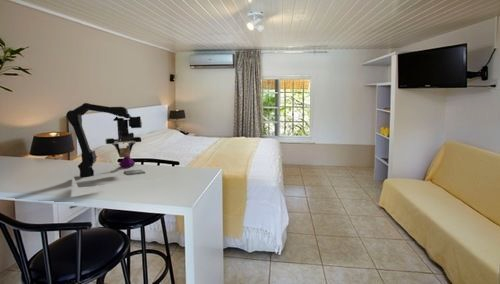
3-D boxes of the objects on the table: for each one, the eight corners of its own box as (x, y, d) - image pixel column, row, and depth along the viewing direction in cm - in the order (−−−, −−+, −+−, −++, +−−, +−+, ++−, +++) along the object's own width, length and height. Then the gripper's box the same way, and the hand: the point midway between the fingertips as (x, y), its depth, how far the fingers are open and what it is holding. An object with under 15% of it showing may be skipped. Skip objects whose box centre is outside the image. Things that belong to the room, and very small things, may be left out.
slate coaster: (127, 175, 171) (127, 173, 171) (123, 172, 180) (123, 171, 180) (145, 173, 177) (145, 171, 177) (140, 170, 185) (140, 169, 185)
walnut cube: (120, 157, 170) (120, 149, 169) (119, 156, 174) (118, 148, 174) (130, 156, 173) (129, 148, 172) (128, 155, 177) (127, 147, 176)
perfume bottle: (135, 167, 197) (134, 140, 196) (129, 169, 190) (128, 141, 188) (124, 167, 198) (123, 140, 196) (118, 169, 191) (117, 141, 189)
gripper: (107, 129, 160) (109, 158, 161) (142, 128, 170) (144, 154, 172) (104, 129, 169) (106, 155, 171) (138, 127, 179) (139, 153, 181)
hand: (124, 154), depth 173 cm, fingers closed on walnut cube, 5 cm apart
